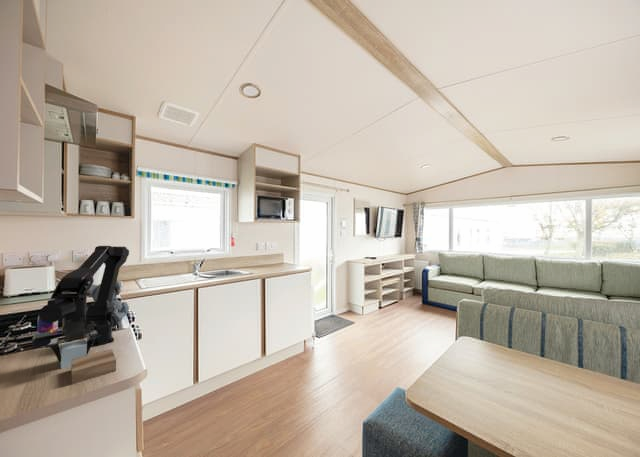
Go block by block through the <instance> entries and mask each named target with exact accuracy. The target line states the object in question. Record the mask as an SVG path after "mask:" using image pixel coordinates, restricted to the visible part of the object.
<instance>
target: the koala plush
mask: <svg viewBox="0 0 640 457" xmlns="http://www.w3.org/2000/svg"><path fill="white" fill-rule="evenodd" d="M99 288H100V284H98V285H96V284H94V283H93V284H92V286H91V287H90V289H89V290H88V291H87V292H88V293H90V295H89V296H87V298H89V299H90V298H91V299H92V300H93V301H94V303H95V302H96V300H97V296H98V292H99ZM122 292H124V282H123V281H122V280H121V279H120V280H117V281H116V285H115V290H114V294H113V298H112V304H113V306H114V307H115V312H114V313H115V314H116V315H117V316H118V318H119V321H121V320H123V319H124V317H125V316H127V314H128V313H129V311H130V310H129V309H130V307H129V303H128V302H127V301H122V302H121V301H120V300H118V299H117V296H119V295H120V294H121V293H122ZM94 303H92V304H91V305H93V304H94ZM87 309H88V306H86V313H87Z"/></svg>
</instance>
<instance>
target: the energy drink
mask: <svg viewBox="0 0 640 457" xmlns="http://www.w3.org/2000/svg"><path fill="white" fill-rule="evenodd" d="M58 328H59V320H58V321H56V322H53V323H46V322H43V321H42V320H41V319H40V317H39V315H38V317H37V328H36V329H37V332H36V334H40V333H45V332H50V331H51V334H56V333H59V332H58V330H59V329H58ZM42 348H45V346H43V347H42Z"/></svg>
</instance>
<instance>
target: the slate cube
mask: <svg viewBox="0 0 640 457" xmlns="http://www.w3.org/2000/svg"><path fill="white" fill-rule="evenodd" d="M60 354H61V362H59V363H60V369H66V368H71V359H75V358H79V357H83V356H87V355H88V354H87V339H85V338H84V339H81V340H80V339H79V340H74V341H72V342H66V343H62V344H60Z"/></svg>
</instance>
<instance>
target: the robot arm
mask: <svg viewBox="0 0 640 457" xmlns="http://www.w3.org/2000/svg"><path fill="white" fill-rule="evenodd" d="M129 255H130V251H129V248H127V247H126V246H111V245H98V246H95V247H94V251H92V253H91V254H89V256H88V258H87V259H86V260H85V261H84V262H83V263H82V264H81V265H80V266H79V267H78V268H77V269H74V270H72V271H70V272H68V273H67V274H65V275H64V276H63V277H62V278H61V279H60V280H59V282H58V283H57V285H56V287H55V289H54V291H53V293H52V294H51V296H50V299H49V300H47V304H46V305H44V306H43V307H41V309H40V310H39V312H38V316H39V317H40V319H41V320H42V321H43V322H46V323H53V322H56V321H58V322H59V321H60V320H62V331H61V332H58V333H56V334H51V331H50V332H45V333H40V334H37V333H36V334H34V335H33V336H32V340H31V349H37V348H45V349H49V348H50V349H51V350H52V351H53V353H54V354H55V356H56V359H57V360H58V362H59V363H60V362H61V347H60V344H59V342H60V341H59V340H60V339H64V342H66V343H70V342H75V341H79V340H84V339H85V338H86V343H87V355H89V352H90V349H91V348H92V347H96V346H100V345H104V344H107V343H113V342H115V338H114V337H113V328H114V327H117V326H118V324H119V321H120V320H119V318H118V316H117V315H116V314H115V313H114V312H115V307H114V306H113V304H112V298H113V294H114V290H115V285H116V281H118V277H119V272H120V268H121V267H122V266H123V265H124V264H125V263H126V262H127V260H128V258H129ZM103 264H104V270H103V273H102V277H101V281H100V283H99V285H100V288H99V292H98V296H97V300H96V302H95V301H94V302H93V303H92V304H93V305H92V304H89V305H88V306H87V298H88V297H87V296H89V295H90V293H88V292H87V291H88V290H89V289H90V287H91V286H92V284H94V280H95V279H94V276H95V274H96V273H97V271H99V269H100V268H101V267H102V265H103ZM86 307H88V309H87V313H86ZM43 346H45V347H43Z"/></svg>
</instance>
